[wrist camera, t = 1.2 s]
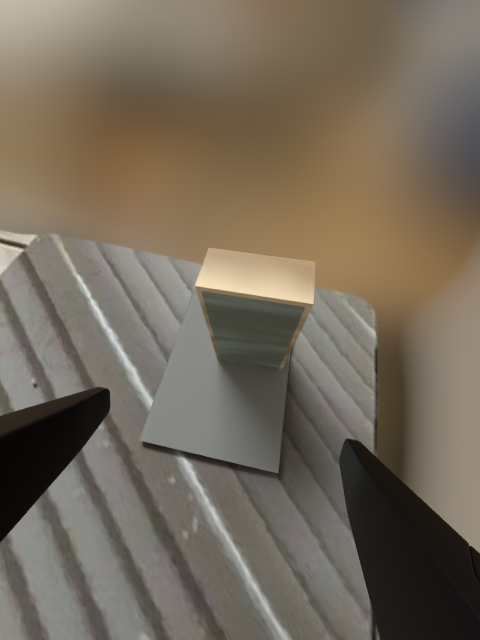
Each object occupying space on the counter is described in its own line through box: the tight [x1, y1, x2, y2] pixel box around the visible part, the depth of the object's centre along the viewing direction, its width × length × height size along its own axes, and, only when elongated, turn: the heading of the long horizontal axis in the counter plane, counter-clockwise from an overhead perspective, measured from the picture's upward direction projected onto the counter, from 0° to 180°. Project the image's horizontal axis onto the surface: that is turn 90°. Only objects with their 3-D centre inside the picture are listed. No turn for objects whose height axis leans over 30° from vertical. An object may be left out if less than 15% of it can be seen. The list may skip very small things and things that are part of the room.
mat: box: [139, 288, 291, 473], centre depth 23 cm, size 17×12×1 cm
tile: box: [195, 248, 316, 371], centre depth 18 cm, size 3×6×12 cm, turn 79°
